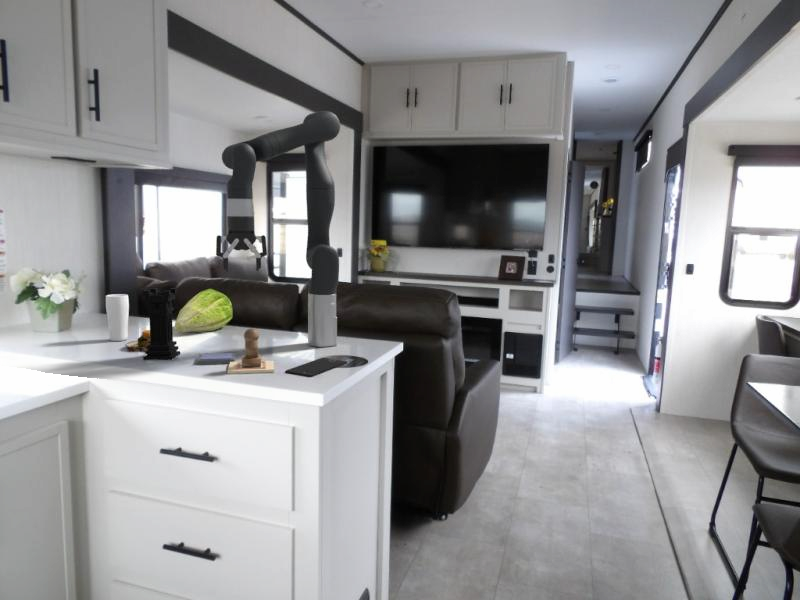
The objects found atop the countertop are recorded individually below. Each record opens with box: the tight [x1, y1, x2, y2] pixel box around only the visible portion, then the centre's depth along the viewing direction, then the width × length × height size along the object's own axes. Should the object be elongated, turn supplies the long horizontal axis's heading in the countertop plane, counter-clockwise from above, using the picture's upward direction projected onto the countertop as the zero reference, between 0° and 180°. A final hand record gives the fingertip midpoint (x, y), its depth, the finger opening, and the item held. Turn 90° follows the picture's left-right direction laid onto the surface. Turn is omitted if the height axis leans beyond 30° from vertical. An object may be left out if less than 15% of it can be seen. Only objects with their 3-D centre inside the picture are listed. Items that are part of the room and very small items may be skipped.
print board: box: [227, 360, 275, 375], centre depth 153 cm, size 12×10×1 cm
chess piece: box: [142, 287, 181, 361], centre depth 162 cm, size 8×8×20 cm
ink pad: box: [196, 352, 237, 366], centre depth 160 cm, size 10×8×1 cm
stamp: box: [241, 327, 262, 368], centre depth 152 cm, size 5×5×10 cm
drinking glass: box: [105, 293, 130, 342], centre depth 183 cm, size 7×7×15 cm
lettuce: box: [174, 288, 234, 333], centre depth 204 cm, size 15×24×16 cm
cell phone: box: [284, 357, 348, 378], centre depth 156 cm, size 9×18×1 cm, turn 153°
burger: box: [124, 329, 150, 353], centre depth 174 cm, size 12×12×8 cm
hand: (242, 270), depth 163 cm, fingers open, 8 cm apart
